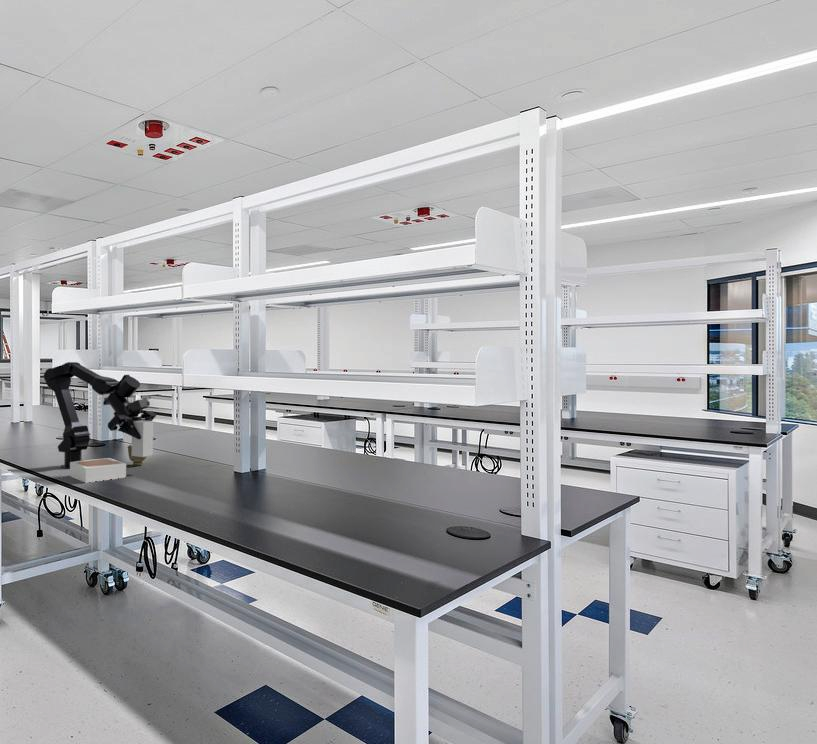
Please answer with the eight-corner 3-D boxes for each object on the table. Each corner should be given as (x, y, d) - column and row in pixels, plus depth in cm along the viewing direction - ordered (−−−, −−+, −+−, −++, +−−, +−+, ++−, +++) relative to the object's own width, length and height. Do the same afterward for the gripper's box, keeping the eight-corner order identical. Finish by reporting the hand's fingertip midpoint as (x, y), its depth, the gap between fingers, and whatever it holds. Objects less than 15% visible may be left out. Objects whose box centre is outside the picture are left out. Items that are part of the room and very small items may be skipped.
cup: (130, 467, 221) (130, 447, 220) (125, 464, 226) (125, 444, 226) (150, 465, 225) (150, 445, 225) (145, 462, 231) (145, 443, 231)
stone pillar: (131, 455, 208) (132, 421, 208) (141, 453, 213) (142, 420, 213) (142, 456, 207) (143, 422, 207) (152, 454, 212) (153, 421, 211)
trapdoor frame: (69, 476, 204) (69, 462, 204) (109, 471, 214) (109, 457, 214) (85, 483, 194) (85, 468, 194) (126, 477, 204) (126, 463, 203)
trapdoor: (76, 473, 204) (76, 462, 204) (106, 469, 211) (106, 458, 211) (89, 478, 196) (89, 467, 196) (119, 474, 203) (119, 463, 203)
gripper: (114, 392, 202) (139, 425, 199) (152, 390, 220) (176, 420, 217) (96, 413, 204) (121, 446, 201) (135, 409, 222) (158, 439, 219)
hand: (145, 437), depth 210 cm, fingers closed on stone pillar, 5 cm apart
